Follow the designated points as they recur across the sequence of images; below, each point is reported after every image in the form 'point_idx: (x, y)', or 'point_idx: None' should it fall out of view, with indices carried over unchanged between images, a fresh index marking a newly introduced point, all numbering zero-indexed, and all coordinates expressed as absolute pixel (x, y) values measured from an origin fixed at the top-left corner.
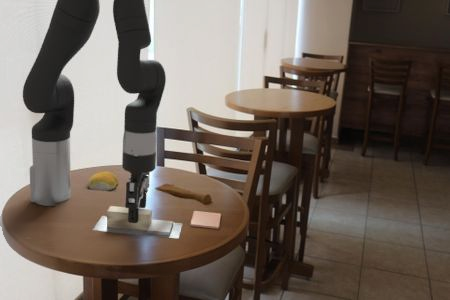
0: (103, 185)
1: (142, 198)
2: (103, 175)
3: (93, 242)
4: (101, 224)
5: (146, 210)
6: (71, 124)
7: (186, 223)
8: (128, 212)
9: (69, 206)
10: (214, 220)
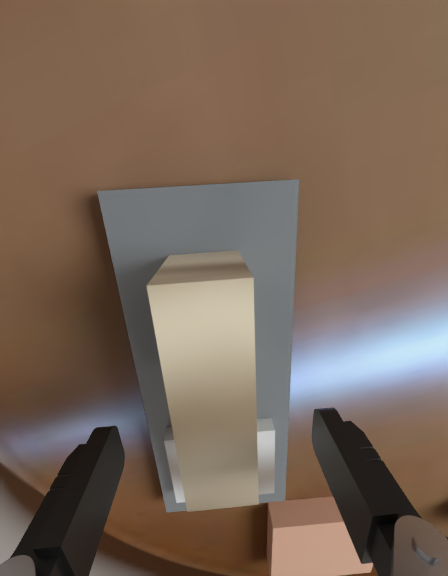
0: None
1: (342, 498)
2: None
3: (30, 232)
4: (185, 217)
5: (240, 487)
6: None
7: (312, 486)
8: (62, 493)
9: None
10: (315, 568)
